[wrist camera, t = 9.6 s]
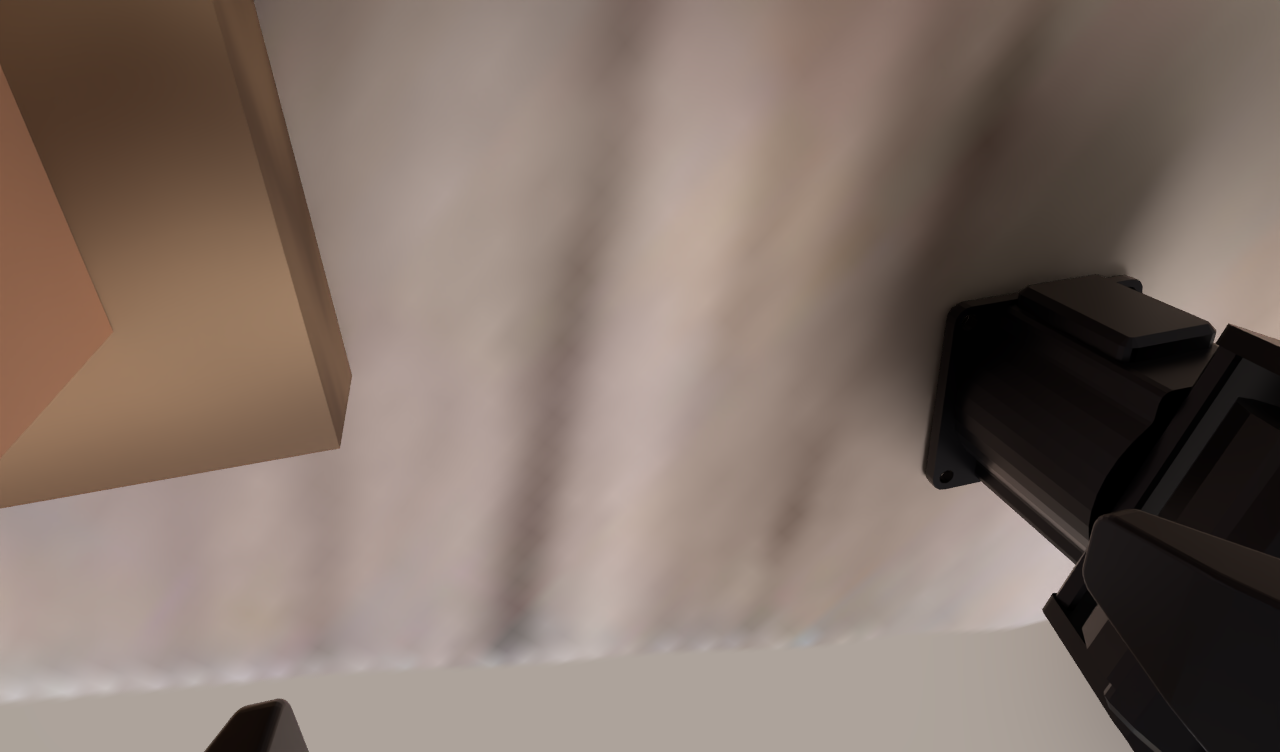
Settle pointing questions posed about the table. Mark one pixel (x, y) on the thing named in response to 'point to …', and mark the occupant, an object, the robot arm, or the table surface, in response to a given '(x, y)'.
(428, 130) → the table surface
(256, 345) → the walnut block
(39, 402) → the terracotta cube
